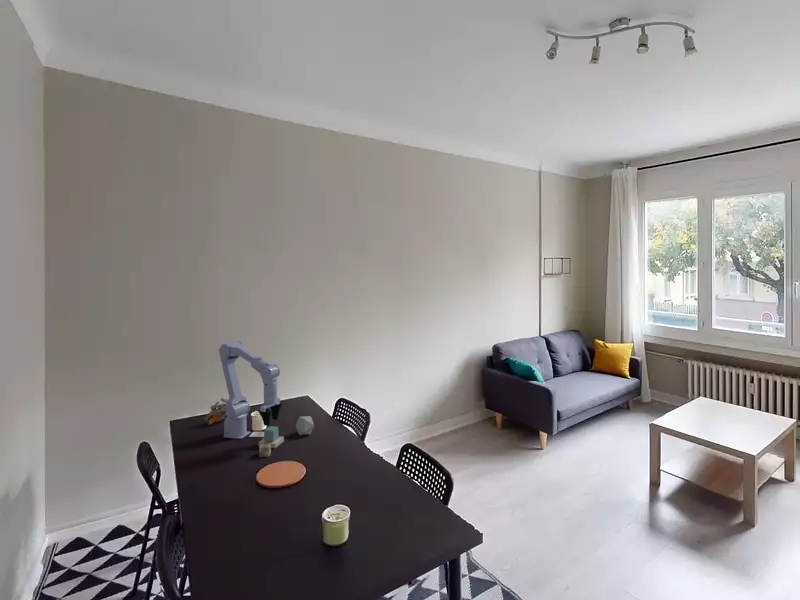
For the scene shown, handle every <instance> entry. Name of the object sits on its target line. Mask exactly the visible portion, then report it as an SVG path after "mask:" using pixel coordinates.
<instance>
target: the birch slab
mask: <svg viewBox="0 0 800 600" xmlns="http://www.w3.org/2000/svg"><path fill="white" fill-rule="evenodd" d="M284 441H285V437H284V436H279V438H277V439H276V440H275V441H274V442H271V441H264V438H262V439H260V440H259V441H258V447H259V448H260V445H261V444H270V443H271V449H277V448H278V446H281V444H282V443H283V442H284Z"/></svg>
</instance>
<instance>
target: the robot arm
mask: <svg viewBox="0 0 800 600" xmlns="http://www.w3.org/2000/svg"><path fill="white" fill-rule="evenodd" d="M218 353H219V357H220V362H221V367H222V370H223V376H224V380H225V384H226V388H227V393H228V396H229V397H228V399H227V400H228V401H227V402H225V403H224V404H225V405H226V412H225V413H226V417H225V419H224V423H223V429H224V434H223V438H226V439H227V438H228V439H240V440H241V439H243V438H245V437H246V436H248V435H250V434H251V431H247V427H248V426H247V416H248V413H249V412H250V411H251V405H250V403H249V400H248V398H247V396H245V395H242V391H241V387H240V382H239V379H238V374H237V369H236V365H235V362H236V361H237V359H238V358H242V359H244V360H245V361H247V362H249V363H250V367H251V368H252V369H254V371H256V372H257V373H259V374H260V378H261V379H262V380H261V381H262V383H263V403H262V405H261V406H260V409H259V410H258V413H259V415H260V417H261V419H262V422H263V425H264V426H265V427H269V426H270V424H271V418H272V420H273V421H277V420H278V419H279V415H280V411H281V408H282V406H283V403H282V402H281V397H278V377H279V376H280V373H281V372H280V367H278V365H277V364H276V363H275V364H272V363H270V362H268V361H266V360H265V359H264V358H263V356H256V355H254V353H252V352H251V351H250V350H249V349H248V348H247V347H246V344H244V343H243V342H242V341H241V340H239V341H235V342H234V341H233V342H229V343H228V342H227V343H222V344H221V345H220V346H219V349H218ZM269 409H270V410H269Z"/></svg>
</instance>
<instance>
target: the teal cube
mask: <svg viewBox="0 0 800 600" xmlns="http://www.w3.org/2000/svg"><path fill="white" fill-rule="evenodd" d="M263 432H264V437H263V439H264V441H271V442H274V441H275V440H276V439H277V438H279V437H280V436H279V426H272V425H269V426H266V428H265V429H264V430H263Z"/></svg>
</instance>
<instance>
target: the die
mask: <svg viewBox="0 0 800 600" xmlns="http://www.w3.org/2000/svg"><path fill="white" fill-rule="evenodd" d="M314 427H315V424H314V421H313V418H312V416H311V415H309V416H307V415H305V416H298V419H297V422H296V424H295V428H296V430H297V433H298V436H308V435H312V432H313V430H314Z"/></svg>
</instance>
